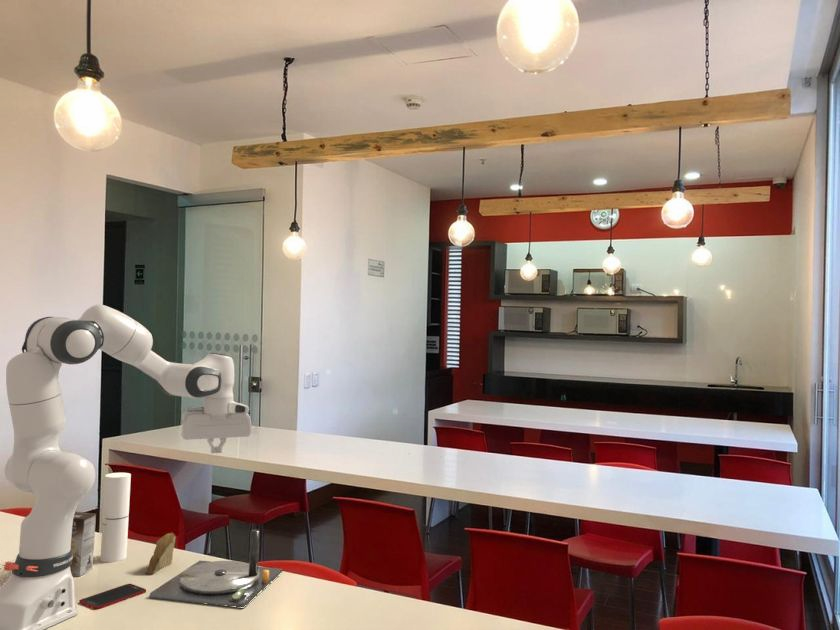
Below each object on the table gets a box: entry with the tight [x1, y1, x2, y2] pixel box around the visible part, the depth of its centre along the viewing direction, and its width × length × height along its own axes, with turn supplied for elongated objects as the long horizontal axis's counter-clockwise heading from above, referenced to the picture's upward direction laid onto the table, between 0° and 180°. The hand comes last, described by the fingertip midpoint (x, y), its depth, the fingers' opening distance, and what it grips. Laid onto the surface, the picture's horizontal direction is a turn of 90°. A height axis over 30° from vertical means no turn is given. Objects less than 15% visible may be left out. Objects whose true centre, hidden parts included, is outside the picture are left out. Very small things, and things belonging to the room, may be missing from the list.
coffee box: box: [70, 511, 97, 577], centre depth 187 cm, size 9×6×16 cm
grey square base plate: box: [149, 559, 283, 607], centre depth 181 cm, size 26×26×3 cm
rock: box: [145, 532, 177, 575], centre depth 192 cm, size 11×9×10 cm
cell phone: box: [78, 583, 147, 611], centre depth 170 cm, size 8×15×1 cm, turn 149°
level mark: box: [262, 570, 269, 583], centre depth 181 cm, size 2×2×3 cm
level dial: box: [180, 529, 261, 594], centre depth 181 cm, size 21×21×14 cm
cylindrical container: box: [99, 472, 132, 563], centre depth 199 cm, size 7×7×25 cm
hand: (216, 452), depth 197 cm, fingers closed
